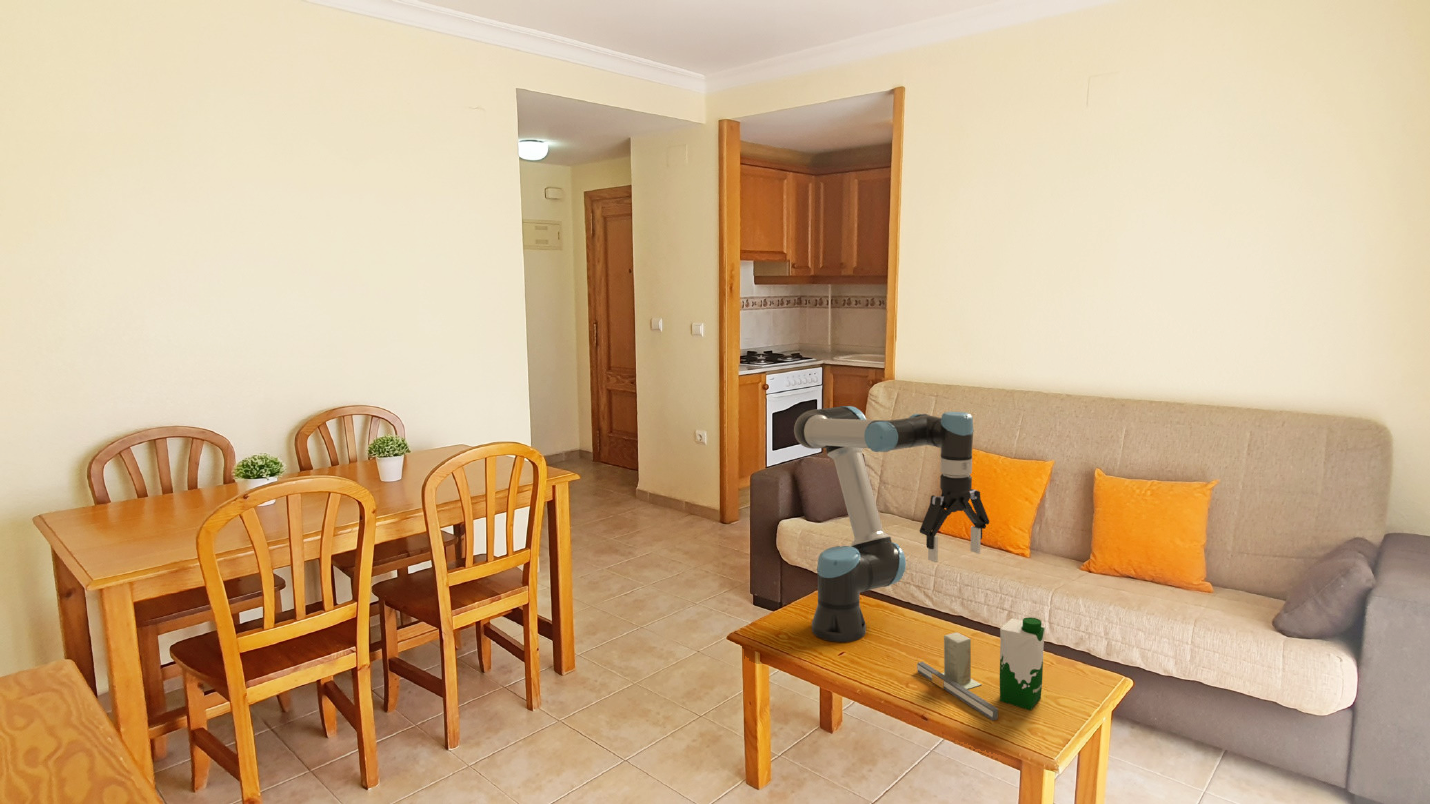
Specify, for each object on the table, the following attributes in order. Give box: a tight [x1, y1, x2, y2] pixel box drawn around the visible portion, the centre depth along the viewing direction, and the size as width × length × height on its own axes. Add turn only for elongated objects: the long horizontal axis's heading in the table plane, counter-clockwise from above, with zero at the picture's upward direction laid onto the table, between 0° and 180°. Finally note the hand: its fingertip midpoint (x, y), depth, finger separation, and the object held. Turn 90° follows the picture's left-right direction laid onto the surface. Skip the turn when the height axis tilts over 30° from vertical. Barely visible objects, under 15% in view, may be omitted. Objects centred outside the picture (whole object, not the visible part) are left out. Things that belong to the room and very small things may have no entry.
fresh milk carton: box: [999, 616, 1046, 711], centre depth 190 cm, size 9×9×20 cm
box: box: [943, 632, 972, 685], centre depth 200 cm, size 5×4×11 cm
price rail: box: [916, 661, 999, 721], centre depth 194 cm, size 26×2×2 cm, turn 25°
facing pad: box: [941, 672, 982, 690], centre depth 201 cm, size 9×7×1 cm
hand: (954, 556), depth 206 cm, fingers open, 13 cm apart
